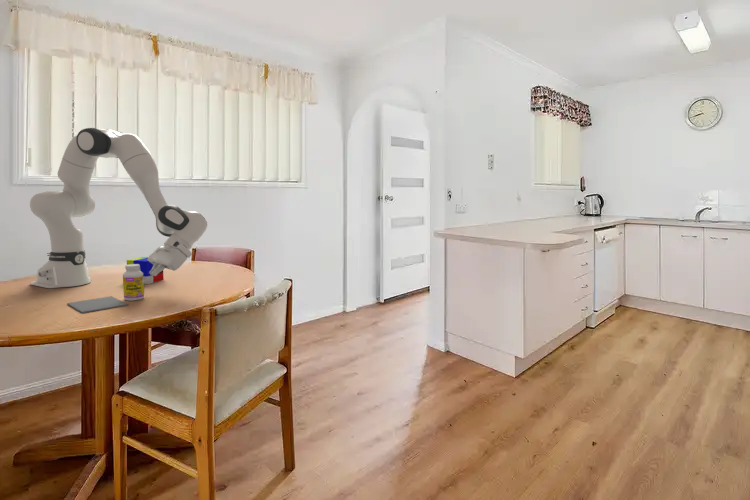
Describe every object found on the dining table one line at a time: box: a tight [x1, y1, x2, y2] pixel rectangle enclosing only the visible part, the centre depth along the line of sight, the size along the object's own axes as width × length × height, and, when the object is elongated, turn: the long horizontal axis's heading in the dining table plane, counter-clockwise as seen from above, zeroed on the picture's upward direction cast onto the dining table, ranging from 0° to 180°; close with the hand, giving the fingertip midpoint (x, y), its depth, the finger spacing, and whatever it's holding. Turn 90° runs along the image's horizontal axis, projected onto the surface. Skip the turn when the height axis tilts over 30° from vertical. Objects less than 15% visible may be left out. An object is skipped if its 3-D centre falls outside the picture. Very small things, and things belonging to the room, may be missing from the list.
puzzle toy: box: [126, 256, 165, 285], centre depth 192 cm, size 10×10×10 cm
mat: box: [67, 295, 129, 314], centre depth 153 cm, size 14×16×1 cm
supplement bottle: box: [122, 264, 145, 302], centre depth 161 cm, size 7×7×13 cm
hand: (151, 274), depth 166 cm, fingers closed
